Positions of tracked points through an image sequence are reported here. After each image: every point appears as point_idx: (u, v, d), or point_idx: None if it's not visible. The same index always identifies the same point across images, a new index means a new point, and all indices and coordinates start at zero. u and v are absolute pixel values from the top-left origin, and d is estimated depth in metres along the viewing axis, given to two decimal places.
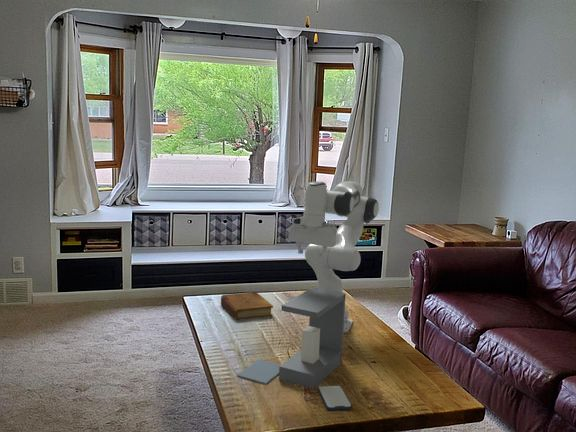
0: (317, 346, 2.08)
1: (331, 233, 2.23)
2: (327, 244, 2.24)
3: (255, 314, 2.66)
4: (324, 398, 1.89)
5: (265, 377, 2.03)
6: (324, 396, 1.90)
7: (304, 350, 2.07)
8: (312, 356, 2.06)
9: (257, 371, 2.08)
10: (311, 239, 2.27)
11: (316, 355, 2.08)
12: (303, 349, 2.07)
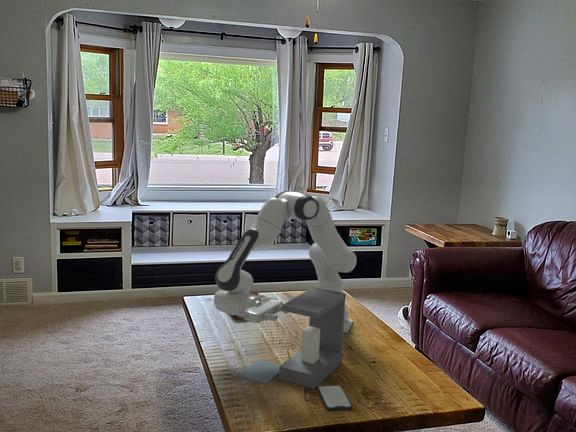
0: (317, 346, 2.08)
1: None
2: None
3: None
4: (324, 398, 1.89)
5: (265, 377, 2.03)
6: (324, 396, 1.90)
7: (304, 350, 2.07)
8: (312, 356, 2.06)
9: (257, 371, 2.08)
10: None
11: (316, 355, 2.08)
12: (303, 349, 2.07)
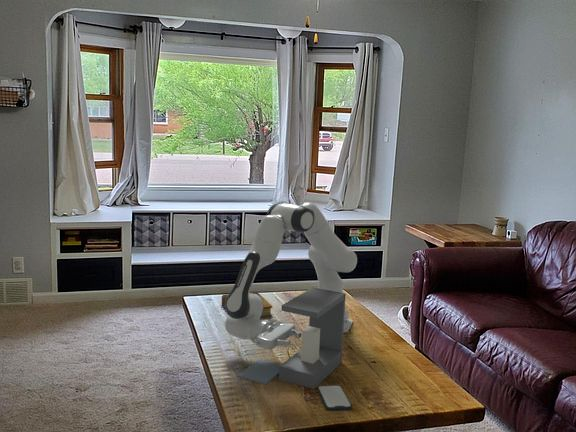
0: (317, 346, 2.08)
1: None
2: None
3: None
4: (324, 398, 1.89)
5: (265, 377, 2.03)
6: (324, 396, 1.90)
7: (304, 350, 2.07)
8: (312, 356, 2.06)
9: (257, 371, 2.08)
10: None
11: (316, 355, 2.08)
12: (303, 349, 2.07)
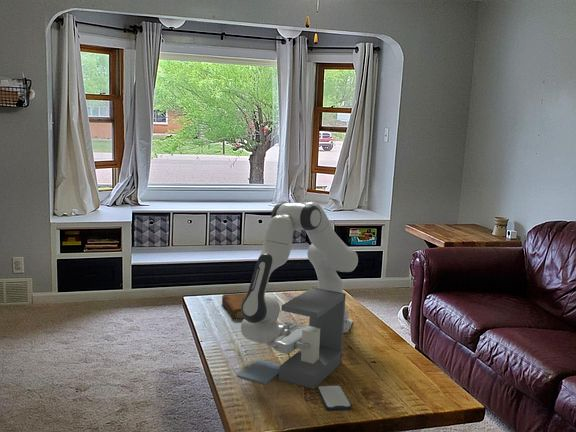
0: (317, 346, 2.08)
1: None
2: None
3: None
4: (324, 398, 1.89)
5: (265, 377, 2.03)
6: (324, 396, 1.90)
7: (304, 350, 2.07)
8: (312, 356, 2.06)
9: (257, 371, 2.08)
10: None
11: (316, 355, 2.08)
12: (303, 349, 2.07)
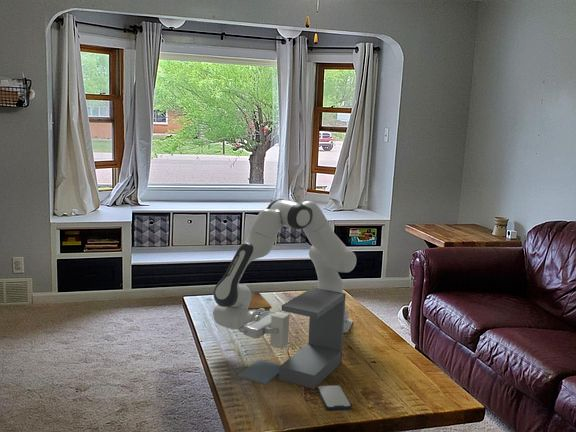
0: (286, 331, 2.13)
1: None
2: None
3: None
4: (323, 397, 1.89)
5: (265, 377, 2.03)
6: (324, 396, 1.90)
7: (273, 336, 2.12)
8: (281, 341, 2.11)
9: (257, 371, 2.08)
10: None
11: (285, 340, 2.13)
12: (272, 334, 2.12)
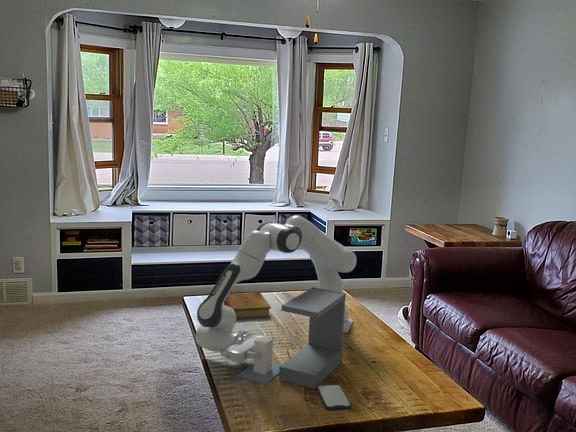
0: (269, 357, 2.07)
1: None
2: None
3: (252, 315, 2.66)
4: (323, 397, 1.89)
5: (265, 377, 2.03)
6: (323, 396, 1.90)
7: (257, 361, 2.06)
8: (264, 367, 2.05)
9: None
10: None
11: (269, 366, 2.08)
12: (255, 360, 2.07)
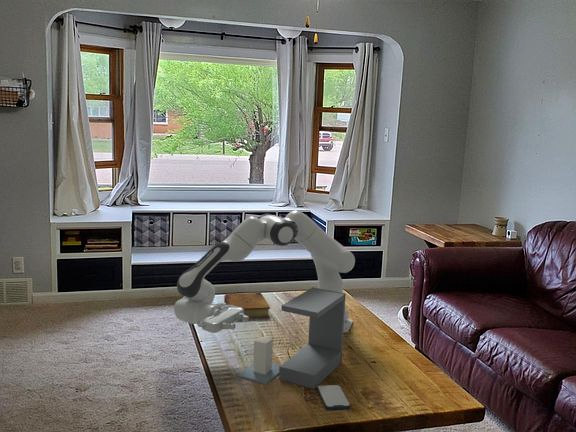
0: (269, 357, 2.07)
1: None
2: None
3: (251, 315, 2.65)
4: (323, 397, 1.89)
5: (265, 377, 2.03)
6: (323, 395, 1.90)
7: (257, 361, 2.06)
8: (264, 367, 2.05)
9: None
10: None
11: (269, 366, 2.08)
12: (255, 360, 2.07)
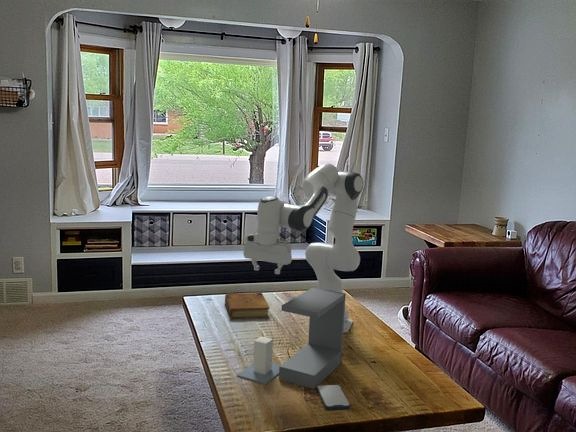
0: (269, 357, 2.07)
1: (285, 251, 2.15)
2: (282, 262, 2.16)
3: (251, 315, 2.65)
4: (323, 397, 1.89)
5: (265, 377, 2.03)
6: (323, 395, 1.90)
7: (257, 361, 2.06)
8: (264, 367, 2.05)
9: None
10: (266, 256, 2.19)
11: (269, 366, 2.08)
12: (255, 360, 2.07)
